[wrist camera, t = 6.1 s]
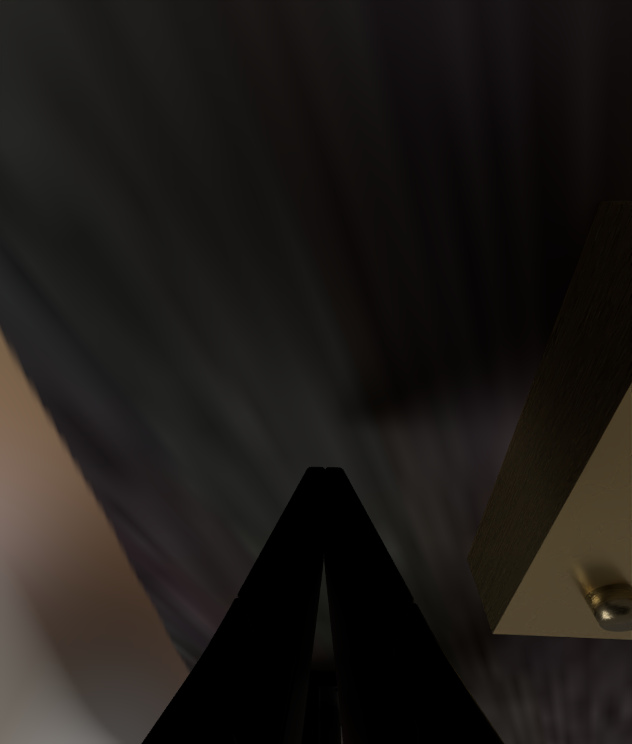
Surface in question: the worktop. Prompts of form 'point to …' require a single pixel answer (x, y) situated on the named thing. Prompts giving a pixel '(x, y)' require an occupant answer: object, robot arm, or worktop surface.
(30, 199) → the worktop surface
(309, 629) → the robot arm
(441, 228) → the worktop surface
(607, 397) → the brass leaf
